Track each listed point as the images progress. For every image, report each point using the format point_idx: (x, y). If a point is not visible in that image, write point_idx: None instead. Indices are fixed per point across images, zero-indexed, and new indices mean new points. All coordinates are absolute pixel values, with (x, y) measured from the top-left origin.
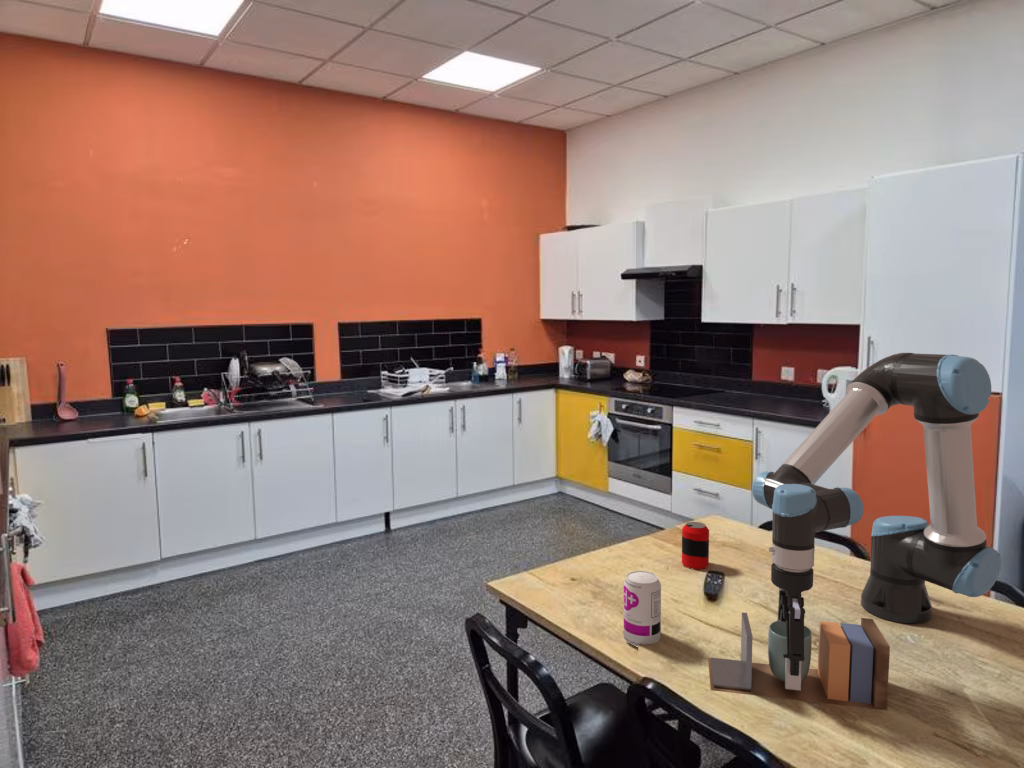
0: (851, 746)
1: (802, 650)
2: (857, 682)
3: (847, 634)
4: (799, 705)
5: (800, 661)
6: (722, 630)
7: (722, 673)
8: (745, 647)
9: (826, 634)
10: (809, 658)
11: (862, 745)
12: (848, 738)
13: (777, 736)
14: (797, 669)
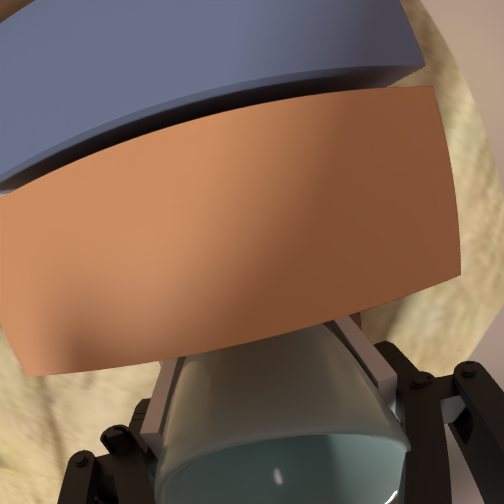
0: (464, 157)
1: (498, 396)
2: None
3: (169, 93)
4: None
5: (389, 368)
6: (66, 462)
7: None
8: None
9: (286, 325)
10: (310, 335)
11: (452, 131)
12: None
13: (471, 314)
14: (402, 358)
